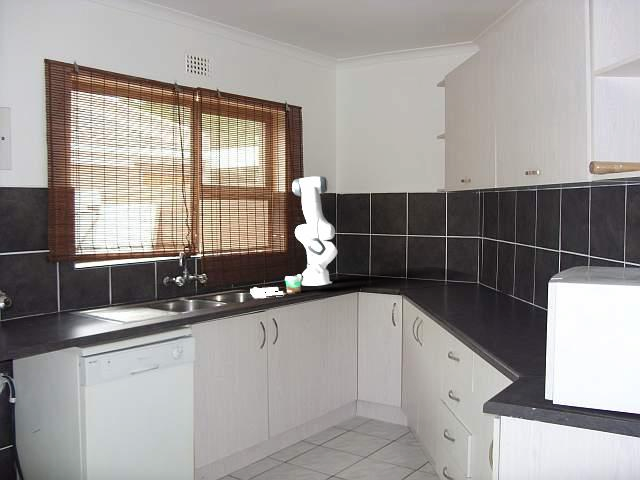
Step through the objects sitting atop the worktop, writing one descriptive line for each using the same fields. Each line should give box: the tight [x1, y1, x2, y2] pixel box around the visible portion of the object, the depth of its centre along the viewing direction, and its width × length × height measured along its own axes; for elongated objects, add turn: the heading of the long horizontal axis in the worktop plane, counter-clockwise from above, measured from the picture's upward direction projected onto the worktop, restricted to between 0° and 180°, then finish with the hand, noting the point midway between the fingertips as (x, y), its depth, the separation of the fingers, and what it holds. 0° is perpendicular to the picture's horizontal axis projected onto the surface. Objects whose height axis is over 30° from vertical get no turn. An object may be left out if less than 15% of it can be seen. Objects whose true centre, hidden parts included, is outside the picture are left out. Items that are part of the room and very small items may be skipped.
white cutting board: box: [250, 286, 284, 299], centre depth 375 cm, size 23×16×3 cm
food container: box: [284, 274, 303, 294], centre depth 378 cm, size 12×6×10 cm, turn 143°
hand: (301, 283), depth 379 cm, fingers closed
